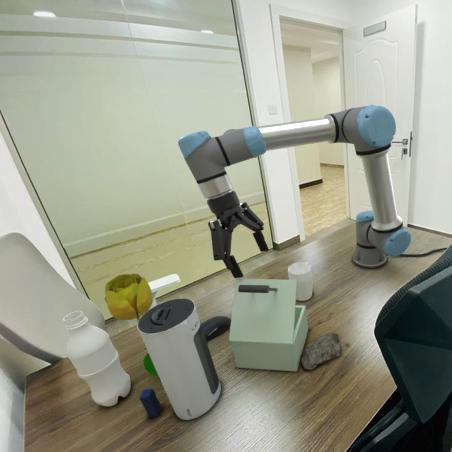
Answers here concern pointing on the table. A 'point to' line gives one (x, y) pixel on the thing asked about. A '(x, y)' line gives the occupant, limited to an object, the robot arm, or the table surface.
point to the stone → (321, 351)
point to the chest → (274, 349)
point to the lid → (264, 311)
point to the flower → (130, 303)
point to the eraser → (150, 402)
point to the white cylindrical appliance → (181, 356)
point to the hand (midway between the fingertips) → (253, 263)
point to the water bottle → (95, 360)
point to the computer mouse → (215, 326)
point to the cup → (302, 279)
